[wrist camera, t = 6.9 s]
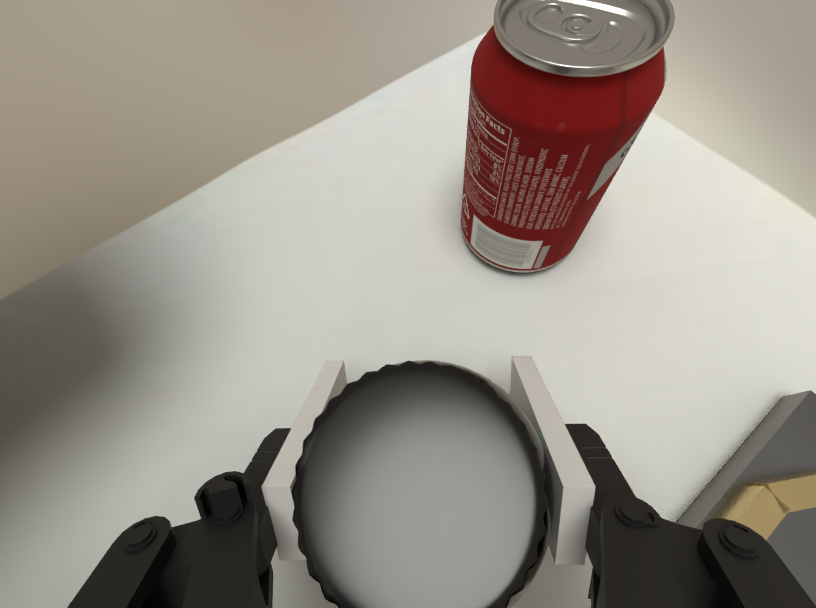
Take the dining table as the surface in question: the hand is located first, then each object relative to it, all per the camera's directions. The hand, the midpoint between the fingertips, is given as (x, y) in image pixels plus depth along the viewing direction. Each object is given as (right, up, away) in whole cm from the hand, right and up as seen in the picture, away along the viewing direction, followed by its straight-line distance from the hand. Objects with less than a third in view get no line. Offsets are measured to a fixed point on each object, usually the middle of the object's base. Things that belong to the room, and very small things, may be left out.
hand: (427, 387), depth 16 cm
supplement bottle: (0, -5, +2) cm, 5 cm away
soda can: (+6, +8, +7) cm, 12 cm away
